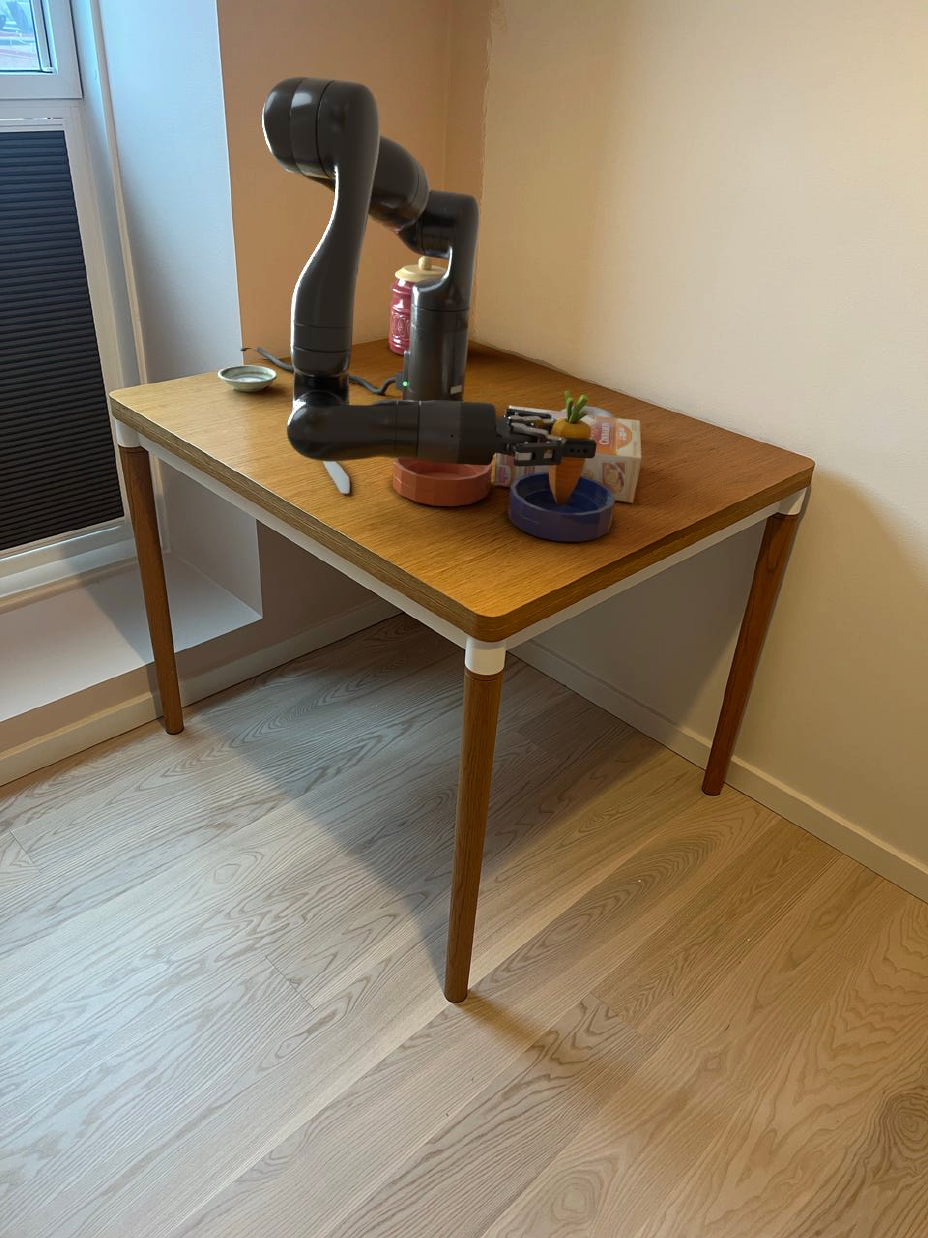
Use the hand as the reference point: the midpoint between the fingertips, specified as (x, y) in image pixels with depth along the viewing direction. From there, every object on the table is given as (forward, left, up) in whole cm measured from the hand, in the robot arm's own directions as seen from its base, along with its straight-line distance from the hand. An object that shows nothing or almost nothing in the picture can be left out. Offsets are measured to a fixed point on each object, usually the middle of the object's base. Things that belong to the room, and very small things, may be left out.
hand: (590, 440), depth 113 cm
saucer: (-68, 0, -11) cm, 69 cm away
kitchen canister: (-66, +41, -11) cm, 79 cm away
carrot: (-2, -2, -9) cm, 10 cm away
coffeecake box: (-2, +17, -7) cm, 18 cm away
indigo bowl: (-2, -2, -11) cm, 11 cm away
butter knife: (-37, -11, -11) cm, 40 cm away
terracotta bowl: (-19, -6, -11) cm, 23 cm away
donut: (-18, +28, -11) cm, 35 cm away
